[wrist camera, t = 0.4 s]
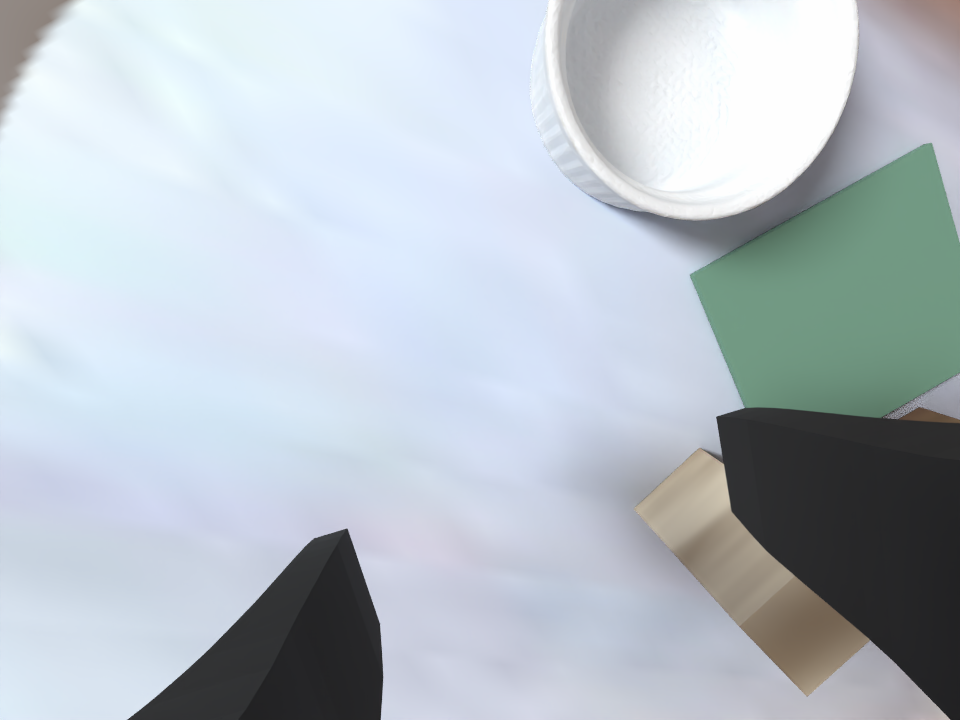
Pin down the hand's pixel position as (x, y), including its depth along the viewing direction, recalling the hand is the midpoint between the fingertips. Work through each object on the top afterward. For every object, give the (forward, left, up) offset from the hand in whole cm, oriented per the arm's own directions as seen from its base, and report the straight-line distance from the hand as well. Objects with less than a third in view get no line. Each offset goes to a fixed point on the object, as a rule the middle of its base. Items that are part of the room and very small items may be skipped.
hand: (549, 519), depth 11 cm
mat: (-5, -14, -10) cm, 18 cm away
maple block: (-9, -5, -10) cm, 14 cm away
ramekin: (+6, -10, -10) cm, 16 cm away
